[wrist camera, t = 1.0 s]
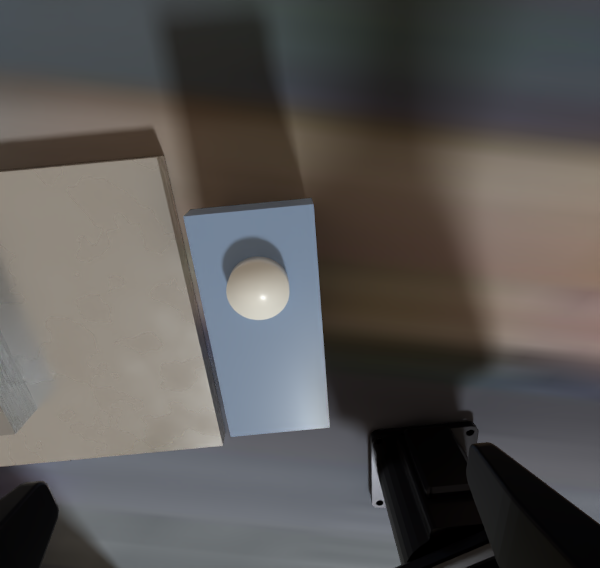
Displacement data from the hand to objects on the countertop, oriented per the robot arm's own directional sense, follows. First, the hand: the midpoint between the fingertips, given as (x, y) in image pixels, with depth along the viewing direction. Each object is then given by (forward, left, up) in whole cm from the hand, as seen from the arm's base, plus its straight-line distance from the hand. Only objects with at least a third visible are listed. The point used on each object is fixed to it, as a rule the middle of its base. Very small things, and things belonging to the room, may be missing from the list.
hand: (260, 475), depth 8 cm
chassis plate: (-2, +14, -12) cm, 18 cm away
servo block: (0, 0, -12) cm, 12 cm away
